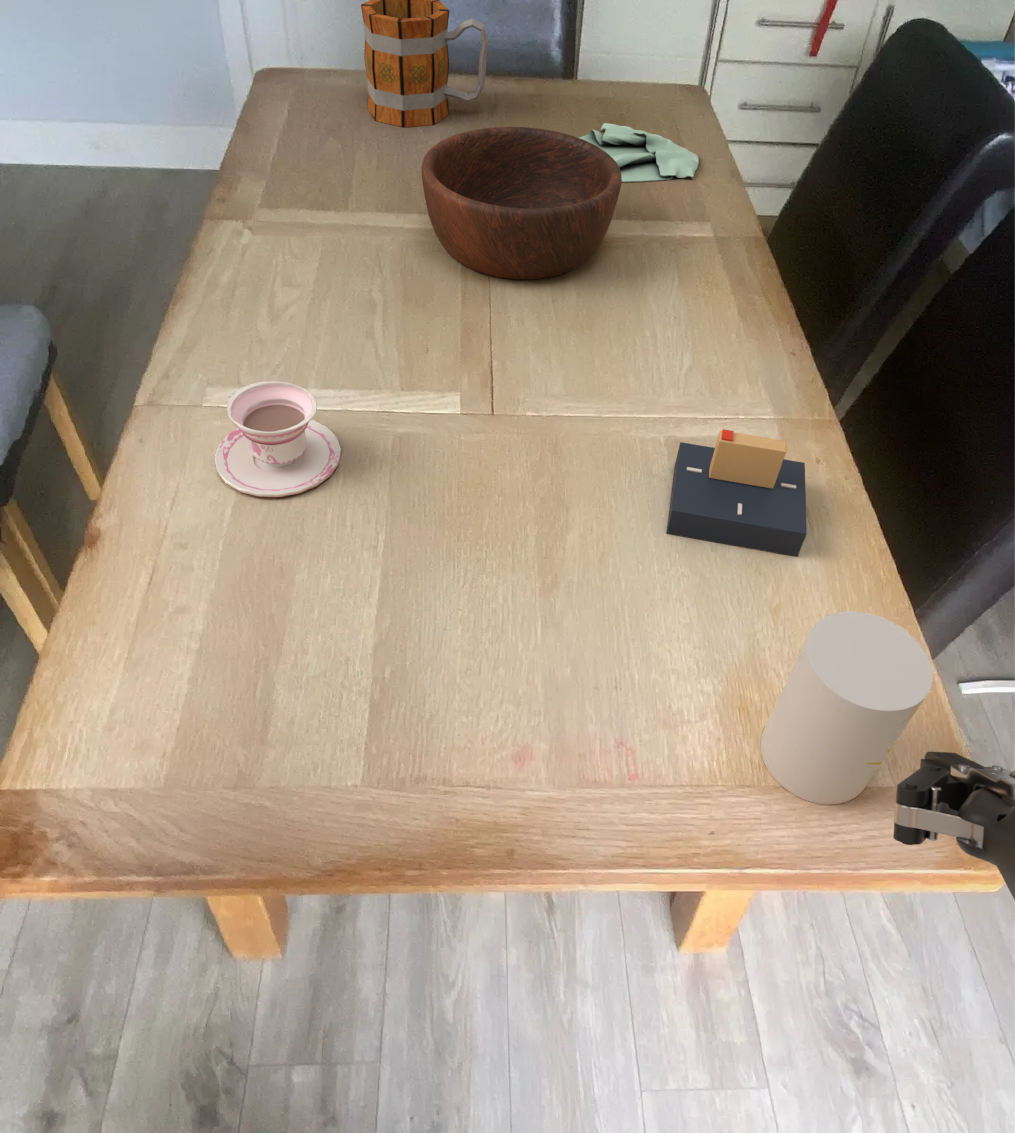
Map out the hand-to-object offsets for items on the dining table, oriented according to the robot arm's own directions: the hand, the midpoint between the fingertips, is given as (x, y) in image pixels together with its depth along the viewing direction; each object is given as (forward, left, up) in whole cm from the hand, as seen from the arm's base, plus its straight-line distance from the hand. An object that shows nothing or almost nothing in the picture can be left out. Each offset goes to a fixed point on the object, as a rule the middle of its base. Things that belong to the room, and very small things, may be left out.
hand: (936, 770), depth 50 cm
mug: (+62, -120, -16) cm, 136 cm away
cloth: (+28, -114, -16) cm, 118 cm away
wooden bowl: (+39, -81, -16) cm, 91 cm away
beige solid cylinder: (+2, -10, -16) cm, 19 cm away
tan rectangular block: (+9, -37, -12) cm, 40 cm away
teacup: (+53, -32, -16) cm, 64 cm away
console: (+9, -36, -15) cm, 40 cm away
